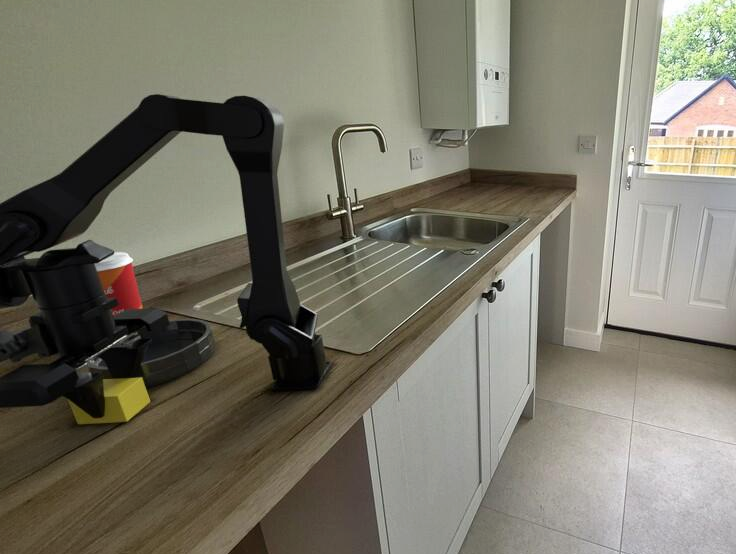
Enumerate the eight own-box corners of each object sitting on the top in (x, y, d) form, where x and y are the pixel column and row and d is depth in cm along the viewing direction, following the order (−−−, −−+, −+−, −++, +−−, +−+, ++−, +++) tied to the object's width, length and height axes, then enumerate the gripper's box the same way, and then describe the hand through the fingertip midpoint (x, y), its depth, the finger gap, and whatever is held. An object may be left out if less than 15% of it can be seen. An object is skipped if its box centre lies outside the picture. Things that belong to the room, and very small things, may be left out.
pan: (234, 337, 73) (229, 317, 72) (175, 390, 59) (167, 366, 58) (145, 340, 72) (139, 320, 71) (63, 395, 58) (52, 371, 57)
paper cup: (88, 334, 75) (61, 262, 71) (137, 315, 82) (114, 249, 77) (115, 341, 72) (88, 267, 68) (162, 321, 79) (141, 253, 75)
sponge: (150, 401, 57) (142, 377, 55) (127, 421, 53) (117, 396, 52) (105, 404, 56) (95, 379, 55) (77, 424, 53) (66, 398, 51)
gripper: (74, 273, 58) (109, 368, 63) (-106, 341, 40) (-37, 466, 45) (157, 271, 58) (185, 365, 63) (16, 337, 41) (71, 460, 46)
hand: (113, 406), depth 54 cm, fingers closed on sponge, 4 cm apart
